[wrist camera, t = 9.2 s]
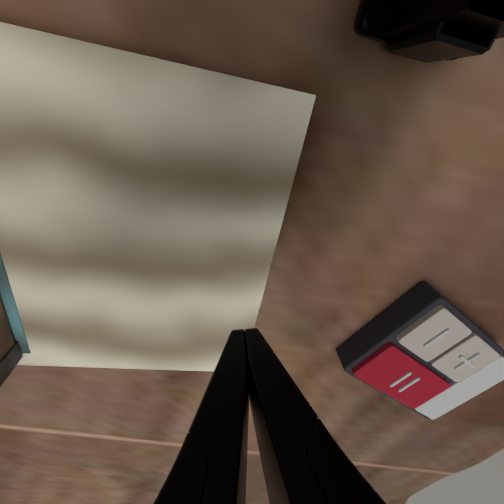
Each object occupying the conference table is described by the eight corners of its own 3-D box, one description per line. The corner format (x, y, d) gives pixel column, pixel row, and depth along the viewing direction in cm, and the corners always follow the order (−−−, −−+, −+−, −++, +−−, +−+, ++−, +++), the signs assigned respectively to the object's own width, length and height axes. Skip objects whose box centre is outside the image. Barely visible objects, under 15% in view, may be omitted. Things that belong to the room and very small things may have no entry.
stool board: (-193, -20, 12) (-289, -46, 10) (303, 94, 16) (316, 95, 14) (-34, 336, 22) (-62, 363, 20) (240, 349, 27) (242, 373, 24)
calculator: (448, 302, 21) (530, 373, 27) (416, 272, 25) (493, 340, 30) (345, 378, 25) (434, 427, 30) (330, 342, 29) (412, 392, 34)
